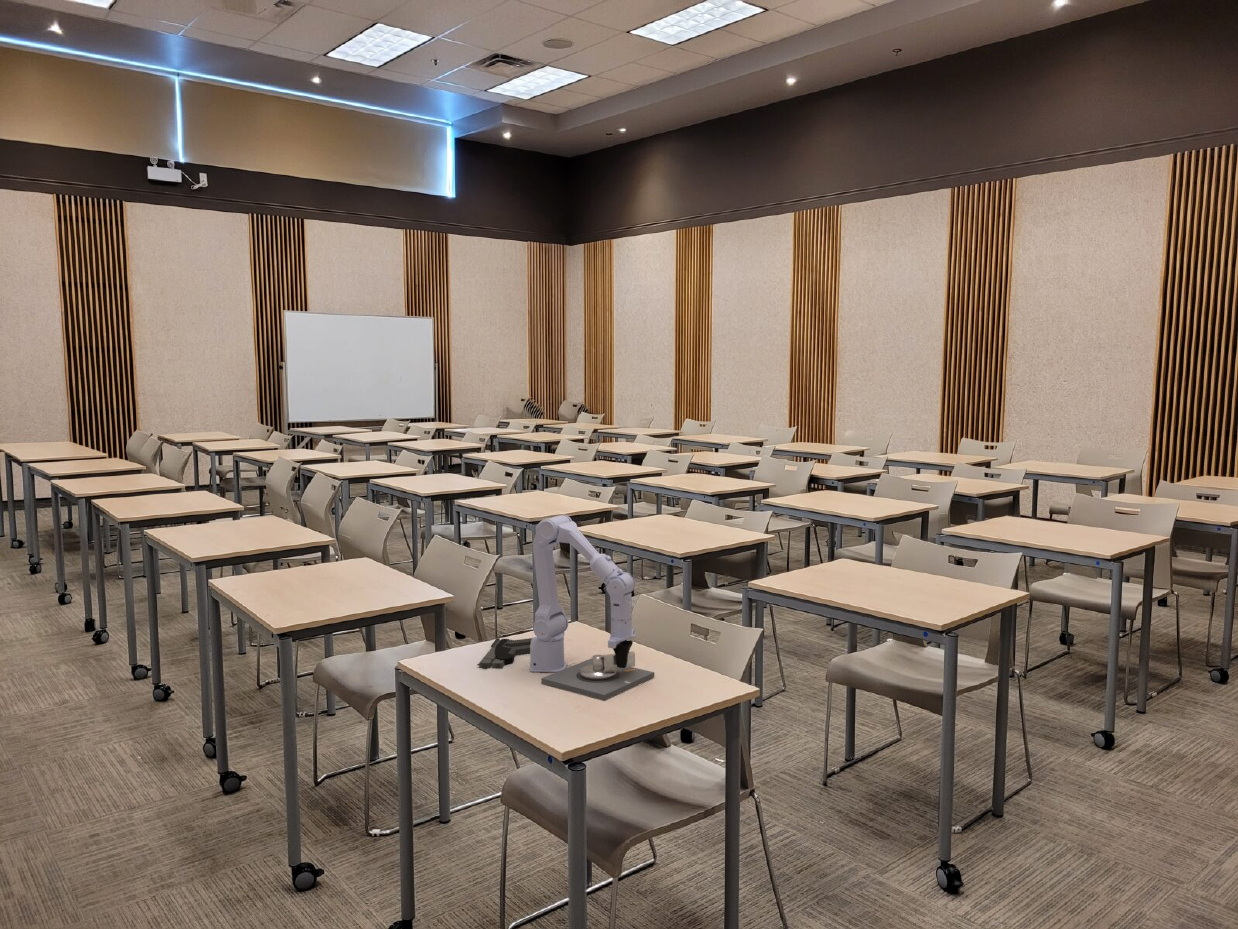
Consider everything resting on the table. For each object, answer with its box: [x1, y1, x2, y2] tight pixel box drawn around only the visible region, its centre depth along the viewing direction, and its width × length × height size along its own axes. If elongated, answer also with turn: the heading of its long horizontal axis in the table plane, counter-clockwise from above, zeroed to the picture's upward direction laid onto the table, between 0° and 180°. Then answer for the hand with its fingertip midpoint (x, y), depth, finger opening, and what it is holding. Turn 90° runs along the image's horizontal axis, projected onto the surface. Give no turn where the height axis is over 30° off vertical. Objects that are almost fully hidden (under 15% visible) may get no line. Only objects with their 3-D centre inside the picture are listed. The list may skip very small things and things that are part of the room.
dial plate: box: [540, 657, 655, 702], centre depth 241 cm, size 22×22×2 cm
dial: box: [580, 651, 636, 680], centre depth 241 cm, size 16×10×5 cm, turn 109°
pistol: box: [476, 637, 533, 670], centre depth 264 cm, size 2×26×15 cm
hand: (622, 667), depth 240 cm, fingers closed, pressing on dial
